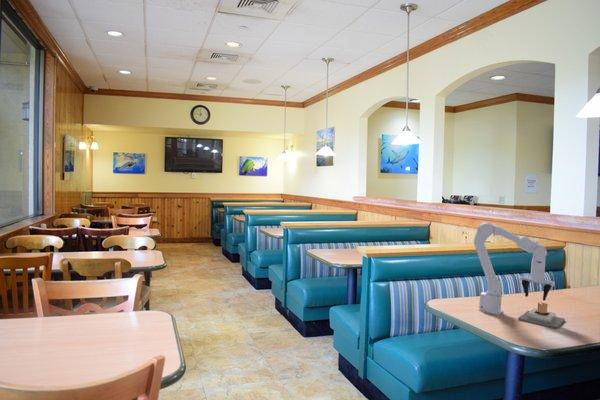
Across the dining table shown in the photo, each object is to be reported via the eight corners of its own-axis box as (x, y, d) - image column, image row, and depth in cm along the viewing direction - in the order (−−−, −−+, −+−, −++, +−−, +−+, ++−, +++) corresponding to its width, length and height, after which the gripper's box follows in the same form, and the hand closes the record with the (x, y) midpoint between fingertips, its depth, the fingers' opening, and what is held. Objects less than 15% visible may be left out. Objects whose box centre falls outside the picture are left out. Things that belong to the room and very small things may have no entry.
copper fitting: (535, 318, 213) (536, 303, 213) (538, 316, 216) (539, 301, 215) (544, 320, 210) (545, 305, 210) (547, 318, 213) (548, 304, 212)
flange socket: (518, 319, 213) (518, 312, 212) (528, 312, 225) (528, 305, 224) (556, 328, 202) (557, 321, 202) (564, 320, 214) (565, 313, 214)
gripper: (518, 268, 218) (516, 296, 219) (552, 274, 208) (550, 303, 209) (523, 266, 223) (521, 293, 224) (556, 271, 213) (554, 300, 214)
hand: (535, 298), depth 217 cm, fingers open, 7 cm apart
